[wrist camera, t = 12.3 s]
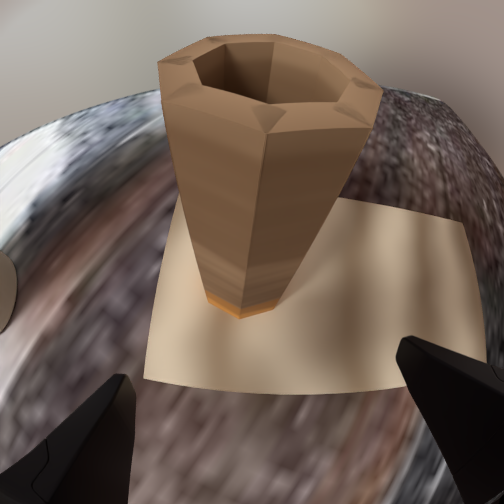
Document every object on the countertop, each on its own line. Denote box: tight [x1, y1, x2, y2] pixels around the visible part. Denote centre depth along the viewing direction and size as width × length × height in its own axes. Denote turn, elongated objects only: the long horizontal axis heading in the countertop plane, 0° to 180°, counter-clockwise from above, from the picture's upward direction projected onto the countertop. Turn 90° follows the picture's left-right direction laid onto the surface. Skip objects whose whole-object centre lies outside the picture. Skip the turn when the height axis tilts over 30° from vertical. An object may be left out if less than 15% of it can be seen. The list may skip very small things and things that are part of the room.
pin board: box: [144, 194, 486, 394], centre depth 16 cm, size 26×14×5 cm, turn 86°
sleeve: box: [157, 34, 383, 319], centre depth 11 cm, size 5×5×13 cm
